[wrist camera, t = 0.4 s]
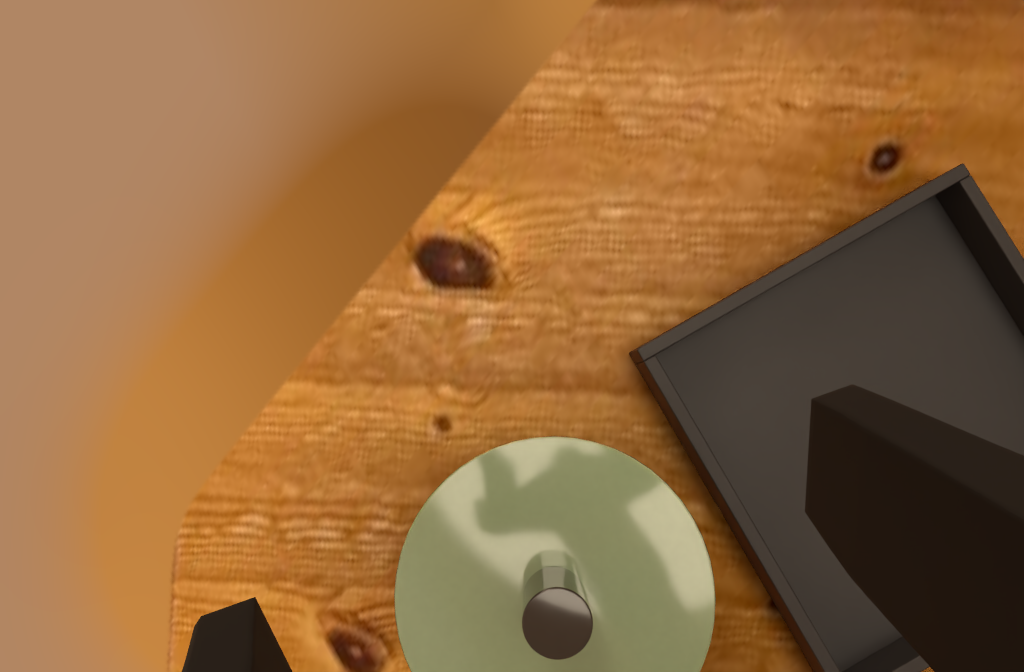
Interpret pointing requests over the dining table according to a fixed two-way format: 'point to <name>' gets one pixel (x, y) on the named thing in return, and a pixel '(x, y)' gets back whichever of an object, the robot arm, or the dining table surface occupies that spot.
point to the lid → (554, 567)
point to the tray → (839, 363)
